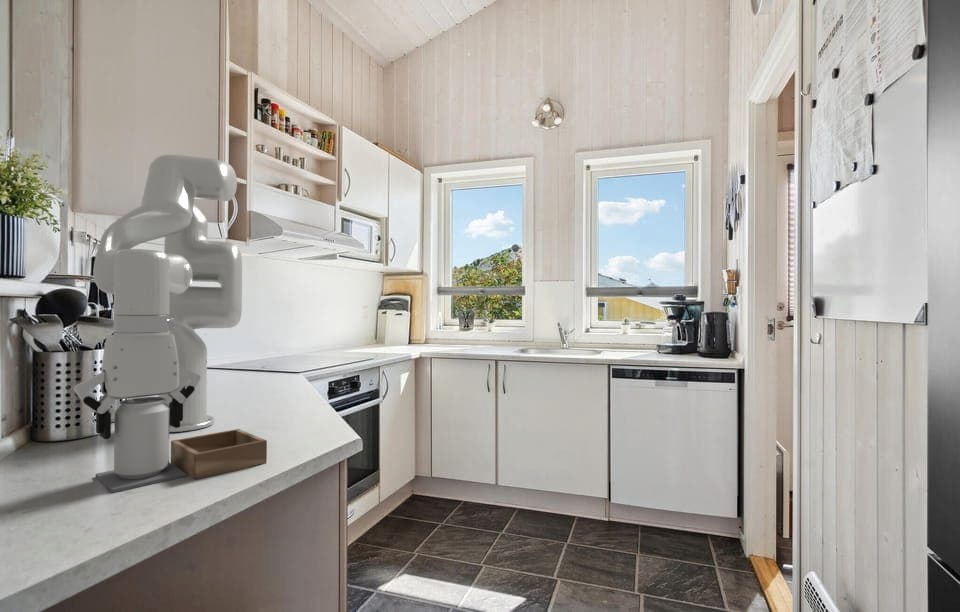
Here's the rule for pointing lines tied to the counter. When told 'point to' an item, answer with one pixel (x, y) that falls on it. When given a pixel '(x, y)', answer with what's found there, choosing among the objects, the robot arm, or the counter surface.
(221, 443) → the walnut box
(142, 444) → the can
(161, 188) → the robot arm
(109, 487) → the rubber mat
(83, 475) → the counter surface
